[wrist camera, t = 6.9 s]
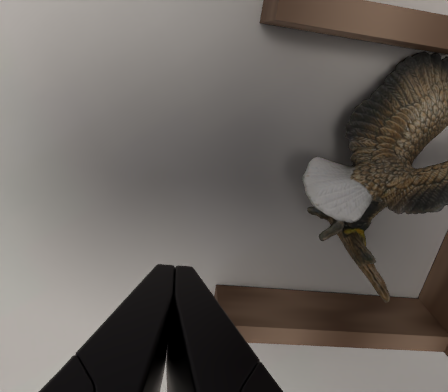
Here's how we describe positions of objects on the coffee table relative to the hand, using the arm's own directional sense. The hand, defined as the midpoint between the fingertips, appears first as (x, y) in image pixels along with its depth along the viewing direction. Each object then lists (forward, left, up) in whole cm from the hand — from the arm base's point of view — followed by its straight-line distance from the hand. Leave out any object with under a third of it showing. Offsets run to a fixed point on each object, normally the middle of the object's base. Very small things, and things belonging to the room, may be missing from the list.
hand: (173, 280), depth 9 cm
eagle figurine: (-10, -2, -9) cm, 13 cm away
